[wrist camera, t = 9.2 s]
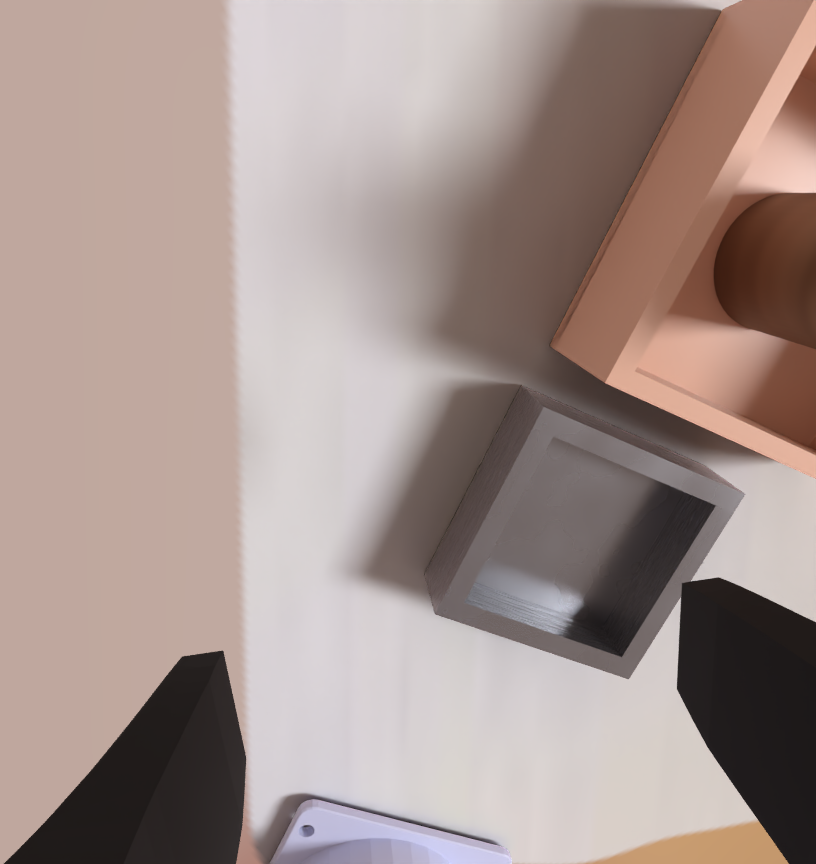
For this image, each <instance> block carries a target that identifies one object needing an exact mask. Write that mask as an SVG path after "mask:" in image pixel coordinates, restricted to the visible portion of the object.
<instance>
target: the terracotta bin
mask: <svg viewBox="0 0 816 864" xmlns="http://www.w3.org/2000/svg"><path fill="white" fill-rule="evenodd" d="M781 193H816V0H742V1H740V2H738V3H736V4H733V5H731V6H729V7H727V8H725V9H723V10H722V11H721V13H720V15H719V17H718V19H717V21H716V23H715V25H714V27H713V29H712V31H711V33H710V35H709V37H708V39H707V41H706V42H705V44H704V46H703V48H702V50H701V52H700V54H699V56H698V58H697V60H696V62H695V64H694V66H693V68H692V70H691V72H690V74H689V75H688V77H687V79H686V81H685V83H684V85H683V87H682V89H681V91H680V93H679V95H678V97H677V99H676V101H675V103H674V105H673V107H672V108H671V110H670V112H669V114H668V116H667V118H666V120H665V122H664V124H663V126H662V128H661V130H660V132H659V134H658V136H657V138H656V139H655V141H654V143H653V145H652V147H651V149H650V151H649V153H648V155H647V157H646V159H645V161H644V163H643V165H642V167H641V169H640V171H639V172H638V174H637V176H636V178H635V180H634V182H633V184H632V186H631V188H630V190H629V192H628V194H627V196H626V198H625V200H624V202H623V203H622V205H621V207H620V209H619V211H618V213H617V215H616V217H615V219H614V221H613V223H612V225H611V227H610V229H609V231H608V233H607V235H606V236H605V238H604V240H603V242H602V244H601V246H600V248H599V250H598V252H597V254H596V256H595V258H594V260H593V262H592V264H591V266H590V268H589V269H588V271H587V273H586V275H585V277H584V279H583V281H582V283H581V285H580V287H579V289H578V291H577V293H576V295H575V297H574V299H573V300H572V302H571V304H570V306H569V308H568V310H567V312H566V314H565V316H564V318H563V320H562V322H561V324H560V326H559V328H558V330H557V332H556V333H555V335H554V337H553V339H552V341H551V343H550V345H549V346H550V347H552V348H553V349H555V350H556V351H558V352H559V353H561V354H562V355H564V356H565V357H567V358H568V359H570V360H571V361H573V362H574V363H576V364H577V365H579V366H580V367H582V368H583V369H585V370H586V371H588V372H589V373H591V374H592V375H594V376H595V377H597V378H598V379H600V380H601V381H603V382H604V383H606V384H608V385H610V386H612V387H615V388H617V389H619V390H621V391H623V392H626V393H628V394H630V395H632V396H634V397H637V398H639V399H641V400H643V401H646V402H648V403H650V404H652V405H654V406H657V407H659V408H661V409H663V410H665V411H668V412H670V413H672V414H674V415H676V416H679V417H681V418H683V419H685V420H687V421H690V422H692V423H694V424H696V425H698V426H701V427H703V428H705V429H707V430H709V431H712V432H714V433H716V434H718V435H720V436H723V437H725V438H727V439H729V440H731V441H734V442H736V443H738V444H740V445H743V446H745V447H747V448H749V449H751V450H754V451H756V452H758V453H760V454H762V455H765V456H767V457H769V458H771V459H773V460H776V461H778V462H780V463H782V464H784V465H787V466H789V467H791V468H793V469H795V470H798V471H800V472H802V473H804V474H806V475H809V476H811V477H813V478H815V479H816V349H814V348H810V347H807V346H804V345H801V344H797V343H794V342H791V341H788V340H785V339H781V338H778V337H775V336H772V335H769V334H765V333H762V332H759V331H756V330H753V329H749V328H746V327H744V326H742V325H740V324H738V323H737V322H735V321H734V320H733V319H732V318H731V317H730V316H728V314H727V313H726V312H725V311H724V309H723V308H722V306H721V304H720V302H719V300H718V297H717V295H716V291H715V286H714V264H715V258H716V255H717V251H718V248H719V246H720V243H721V241H722V239H723V237H724V235H725V233H726V232H727V230H728V229H729V227H730V226H731V224H732V223H733V222H734V221H735V220H736V218H737V217H738V216H739V215H740V214H741V213H742V212H743V211H745V210H746V209H747V208H749V207H750V206H751V205H753V204H754V203H756V202H758V201H759V200H762V199H764V198H766V197H769V196H772V195H776V194H781Z"/></svg>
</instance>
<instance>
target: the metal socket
mask: <svg viewBox="0 0 816 864" xmlns="http://www.w3.org/2000/svg"><path fill="white" fill-rule="evenodd" d="M744 495H745V494H744V493H743V492H742V491H740V490H739V489H737V488H736V487H734V486H733V485H732V484H730V483H729V482H727V481H726V480H725V479H723V478H722V477H720V476H719V475H718V474H716V473H715V472H713V471H712V470H711V469H709V468H708V467H706V466H705V465H702V464H700V463H698V462H696V461H693V460H691V459H689V458H686V457H684V456H682V455H680V454H677V453H675V452H673V451H670V450H668V449H666V448H664V447H661V446H659V445H657V444H654V443H652V442H650V441H648V440H645V439H643V438H641V437H638V436H636V435H634V434H632V433H629V432H627V431H625V430H622V429H620V428H618V427H616V426H613V425H611V424H609V423H606V422H604V421H602V420H600V419H597V418H595V417H593V416H591V415H588V414H586V413H584V412H581V411H579V410H577V409H575V408H572V407H570V406H568V405H565V404H563V403H561V402H559V401H556V400H554V399H552V398H549V397H547V396H545V395H543V394H540V393H538V392H536V391H533V390H531V389H529V388H527V387H524V386H522V385H521V387H520V389H519V391H518V393H517V394H516V396H515V398H514V400H513V402H512V404H511V406H510V408H509V410H508V412H507V414H506V416H505V418H504V420H503V422H502V424H501V426H500V428H499V430H498V432H497V434H496V435H495V437H494V439H493V441H492V443H491V445H490V447H489V449H488V451H487V453H486V455H485V457H484V459H483V461H482V463H481V465H480V467H479V469H478V471H477V473H476V474H475V476H474V478H473V480H472V482H471V484H470V486H469V488H468V490H467V492H466V494H465V496H464V498H463V500H462V502H461V504H460V506H459V508H458V510H457V512H456V514H455V515H454V517H453V519H452V521H451V523H450V525H449V527H448V529H447V531H446V533H445V535H444V537H443V539H442V541H441V543H440V545H439V547H438V549H437V551H436V553H435V554H434V556H433V558H432V560H431V562H430V564H429V566H428V568H427V570H426V572H425V574H424V575H425V579H426V583H427V586H428V590H429V594H430V598H431V601H432V605H433V609H434V612H435V614H436V615H439V616H442V617H445V618H448V619H451V620H454V621H457V622H460V623H463V624H466V625H469V626H472V627H475V628H478V629H481V630H484V631H487V632H490V633H493V634H496V635H499V636H502V637H505V638H508V639H511V640H513V641H516V642H519V643H522V644H525V645H528V646H531V647H534V648H537V649H540V650H543V651H546V652H549V653H552V654H555V655H558V656H561V657H564V658H567V659H570V660H573V661H576V662H579V663H582V664H585V665H588V666H591V667H594V668H597V669H600V670H603V671H606V672H609V673H612V674H615V675H618V676H621V677H623V678H626V679H629V678H630V676H631V675H632V673H633V672H634V670H635V669H636V667H637V665H638V664H639V662H640V661H641V659H642V657H643V656H644V654H645V653H646V651H647V649H648V648H649V646H650V645H651V643H652V642H653V640H654V638H655V637H656V635H657V634H658V632H659V630H660V629H661V627H662V626H663V624H664V622H665V621H666V619H667V618H668V616H669V615H670V613H671V611H672V610H673V608H674V607H675V605H676V603H677V602H678V600H679V599H680V597H681V592H682V583H685V582H690V581H691V580H692V578H693V576H694V575H695V573H696V572H697V570H698V568H699V567H700V565H701V564H702V562H703V561H704V559H705V557H706V556H707V554H708V553H709V551H710V549H711V548H712V546H713V545H714V543H715V541H716V540H717V538H718V537H719V535H720V534H721V532H722V530H723V529H724V527H725V526H726V524H727V522H728V521H729V519H730V518H731V516H732V515H733V513H734V511H735V510H736V508H737V507H738V505H739V503H740V502H741V500H742V499H743V497H744Z"/></svg>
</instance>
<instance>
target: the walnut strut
mask: <svg viewBox="0 0 816 864" xmlns="http://www.w3.org/2000/svg"><path fill="white" fill-rule="evenodd" d="M714 286H715V291H716V295H717V297H718V300H719V302H720V304H721V306H722V308H723V309H724V311H725V312H726V313H727V314H728V316H730V317H731V318H732V319H733V320H734V321H735V322H737V323H738V324H740V325H742V326H744V327H746V328H749V329H753V330H756V331H759V332H762V333H765V334H769V335H772V336H775V337H778V338H781V339H785V340H788V341H791V342H794V343H797V344H801V345H804V346H807V347H810V348H814V349H816V193H781V194H776V195H772V196H769V197H766V198H764V199H762V200H759V201H758V202H756V203H754V204H753V205H751V206H750V207H749V208H747V209H746V210H745V211H743V212H742V213H741V214H740V215H739V216H738V217H737V218H736V220H735V221H734V222H733V223H732V224H731V226H730V227H729V229H728V230H727V232H726V233H725V235H724V237H723V239H722V241H721V243H720V246H719V248H718V251H717V255H716V258H715V264H714Z"/></svg>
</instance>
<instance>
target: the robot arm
mask: <svg viewBox="0 0 816 864" xmlns="http://www.w3.org/2000/svg"><path fill="white" fill-rule="evenodd" d="M677 690H678V692H679V694H680V696H681V698H682V700H683V702H684V704H685V706H686V708H687V709H688V711H689V713H690V715H691V717H692V719H693V721H694V723H695V725H696V727H697V729H698V730H699V732H700V734H701V736H702V738H703V739H704V741H705V743H706V745H707V747H708V748H709V750H710V751H711V753H712V754H713V756H714V757H715V759H716V760H717V762H718V763H719V765H720V766H721V767H722V769H723V770H724V772H725V773H726V775H727V776H728V778H729V779H730V780H731V782H732V783H733V785H734V786H735V788H736V789H737V791H738V792H739V793H740V795H741V796H742V798H743V799H744V801H745V802H746V803H747V805H748V806H749V808H750V809H751V810H752V812H753V813H754V815H755V816H756V818H757V819H758V820H759V822H760V823H761V825H762V826H763V827H764V829H765V830H766V832H767V833H768V834H769V836H770V837H771V839H772V840H773V841H774V843H775V844H776V846H777V847H778V849H779V850H780V852H781V853H782V854H783V856H784V857H785V858H786V860H787V861H788V863H789V864H816V622H814V621H812V620H810V619H808V618H806V617H803V616H801V615H799V614H797V613H795V612H793V611H791V610H789V609H787V608H785V607H783V606H781V605H779V604H777V603H775V602H773V601H770V600H768V599H766V598H764V597H762V596H760V595H758V594H756V593H754V592H751V591H749V590H747V589H745V588H743V587H741V586H738V585H736V584H734V583H731V582H729V581H726V580H724V579H721V578H712V579H705V580H699V581H692V582H685V583H682V592H681V613H680V635H679V656H678V677H677ZM245 770H246V755H245V750H244V745H243V741H242V736H241V731H240V727H239V722H238V717H237V713H236V709H235V703H234V699H233V694H232V689H231V685H230V680H229V676H228V671H227V666H226V662H225V657H224V652H223V651H218V652H210V653H204V654H197V655H190V656H184V657H182V658H181V659H180V660H179V661H178V662H177V664H176V665H175V666H174V667H173V669H172V670H171V671H170V672H169V673H168V675H167V676H166V677H165V679H164V680H163V681H162V683H161V684H160V685H159V686H158V688H157V689H156V690H155V692H154V693H153V694H152V695H151V697H150V698H149V699H148V701H147V702H146V703H145V704H144V706H143V707H142V708H141V710H140V711H139V712H138V713H137V715H136V716H135V717H134V718H133V720H132V721H131V722H130V724H129V725H128V726H127V727H126V729H125V730H124V731H123V732H122V734H121V735H120V736H119V737H118V738H117V740H116V741H115V742H114V743H113V745H112V746H111V747H110V748H109V749H108V751H107V752H106V753H105V754H104V756H103V757H102V758H101V759H100V760H99V762H98V763H97V764H96V765H95V767H94V768H93V769H92V770H91V771H90V772H89V774H88V775H87V776H86V777H85V778H84V779H83V780H82V781H81V782H80V784H79V785H78V786H77V787H76V788H75V789H74V790H73V792H72V793H71V794H70V795H69V796H68V797H67V798H66V799H65V800H64V802H63V803H62V804H61V805H60V806H59V807H58V808H57V809H56V811H55V812H54V813H53V814H52V815H51V816H50V817H49V818H48V819H47V821H46V822H45V823H44V824H43V825H42V826H41V827H40V828H39V829H38V830H37V831H36V832H35V833H34V834H33V835H32V836H31V837H30V838H29V839H28V840H27V841H26V842H25V843H24V844H23V845H22V846H21V847H20V848H19V849H18V850H17V851H16V852H15V854H13V855H12V856H11V857H10V858H9V859H8V860H7V861H6V862H5V863H4V864H236V860H237V854H238V848H239V842H240V836H241V830H242V821H243V806H244V790H245ZM304 825H310V826H309V827H303V826H304ZM270 864H512V859H511V856H510V852H509V851H508V850H507V849H506V848H504V847H502V846H498V845H494V844H490V843H486V842H482V841H478V840H474V839H470V838H466V837H462V836H458V835H454V834H451V833H447V832H443V831H439V830H435V829H431V828H427V827H423V826H419V825H415V824H411V823H407V822H403V821H399V820H396V819H392V818H388V817H384V816H380V815H376V814H372V813H368V812H364V811H360V810H356V809H352V808H348V807H344V806H341V805H337V804H333V803H329V802H325V801H321V800H315V799H311V800H307V801H305V802H303V803H302V804H301V805H300V806H299V807H298V809H297V811H296V813H295V815H294V817H293V819H292V821H291V823H290V825H289V827H288V829H287V831H286V833H285V835H284V837H283V839H282V840H281V842H280V844H279V846H278V848H277V850H276V852H275V854H274V856H273V858H272V860H271V862H270Z"/></svg>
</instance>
